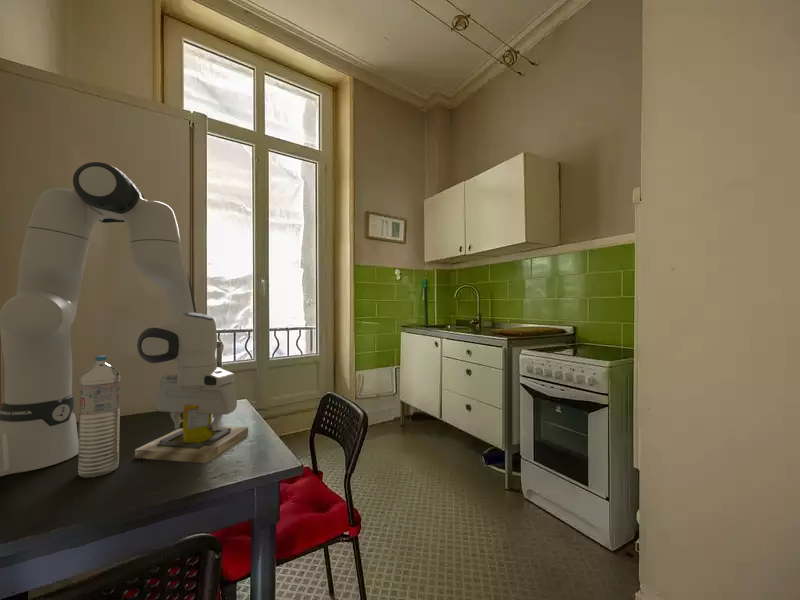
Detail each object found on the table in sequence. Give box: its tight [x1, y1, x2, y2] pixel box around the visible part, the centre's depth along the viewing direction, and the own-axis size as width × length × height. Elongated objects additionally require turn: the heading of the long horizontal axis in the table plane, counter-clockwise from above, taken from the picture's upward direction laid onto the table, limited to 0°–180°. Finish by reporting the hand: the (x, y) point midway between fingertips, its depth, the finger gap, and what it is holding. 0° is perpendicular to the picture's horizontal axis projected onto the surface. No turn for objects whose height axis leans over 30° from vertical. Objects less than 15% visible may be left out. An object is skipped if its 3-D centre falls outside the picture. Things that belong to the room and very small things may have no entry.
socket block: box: [134, 425, 249, 464], centre depth 92 cm, size 18×18×2 cm
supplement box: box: [182, 405, 213, 443], centre depth 93 cm, size 6×6×11 cm
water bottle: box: [77, 355, 121, 479], centre depth 78 cm, size 7×7×25 cm
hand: (196, 429), depth 92 cm, fingers closed on supplement box, 8 cm apart
